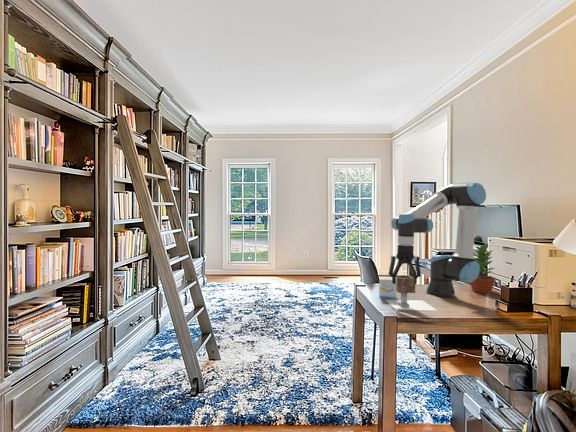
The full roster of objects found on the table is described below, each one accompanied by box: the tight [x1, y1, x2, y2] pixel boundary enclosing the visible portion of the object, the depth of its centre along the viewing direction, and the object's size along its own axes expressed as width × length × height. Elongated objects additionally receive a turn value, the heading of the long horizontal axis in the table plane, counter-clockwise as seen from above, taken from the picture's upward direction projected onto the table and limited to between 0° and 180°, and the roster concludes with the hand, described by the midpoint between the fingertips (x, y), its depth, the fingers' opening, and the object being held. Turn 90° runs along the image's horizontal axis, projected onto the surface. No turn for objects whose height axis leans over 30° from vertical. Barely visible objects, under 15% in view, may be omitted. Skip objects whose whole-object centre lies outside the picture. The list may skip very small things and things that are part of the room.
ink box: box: [378, 276, 397, 300], centre depth 192 cm, size 9×8×12 cm
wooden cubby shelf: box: [396, 274, 416, 294], centre depth 175 cm, size 8×8×8 cm
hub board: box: [385, 293, 438, 313], centre depth 177 cm, size 20×18×8 cm
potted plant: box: [470, 243, 497, 294], centre depth 217 cm, size 15×15×30 cm
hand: (404, 290), depth 175 cm, fingers closed on wooden cubby shelf, 8 cm apart
